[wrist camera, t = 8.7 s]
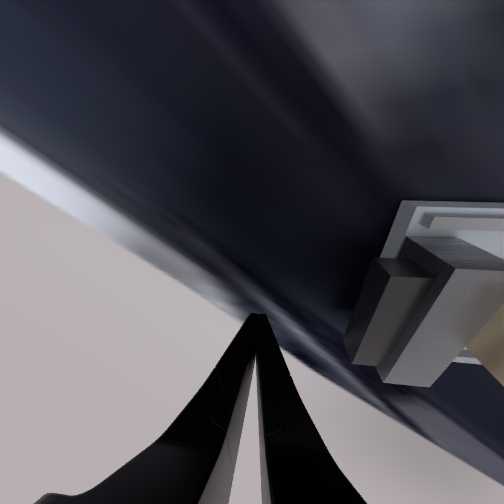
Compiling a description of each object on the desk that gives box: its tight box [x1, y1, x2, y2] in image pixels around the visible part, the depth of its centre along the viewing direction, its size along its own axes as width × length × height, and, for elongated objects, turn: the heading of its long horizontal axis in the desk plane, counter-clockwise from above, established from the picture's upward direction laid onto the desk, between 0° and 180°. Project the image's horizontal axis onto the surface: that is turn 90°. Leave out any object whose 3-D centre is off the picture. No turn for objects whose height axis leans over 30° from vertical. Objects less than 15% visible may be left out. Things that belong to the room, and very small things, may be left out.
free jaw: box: [343, 236, 504, 387], centre depth 10 cm, size 4×8×3 cm, turn 1°
